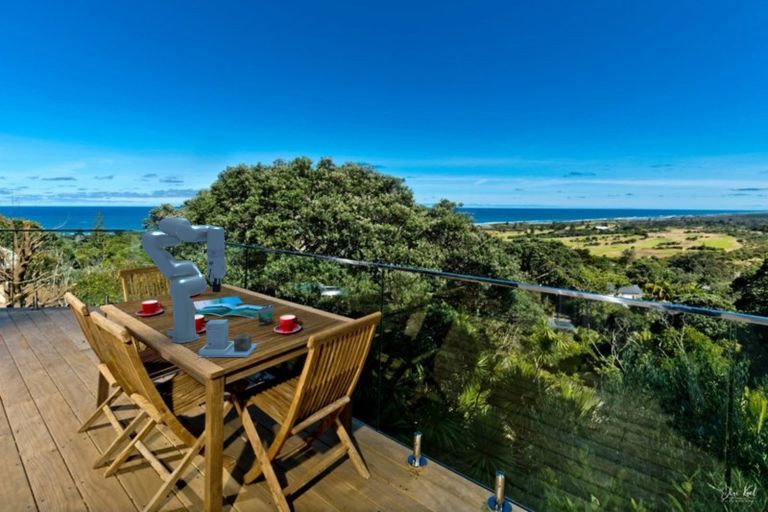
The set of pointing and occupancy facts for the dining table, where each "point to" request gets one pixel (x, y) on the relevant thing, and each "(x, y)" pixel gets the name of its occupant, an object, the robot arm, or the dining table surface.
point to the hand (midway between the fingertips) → (216, 291)
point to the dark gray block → (242, 342)
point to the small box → (217, 334)
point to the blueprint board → (226, 351)
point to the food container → (265, 315)
